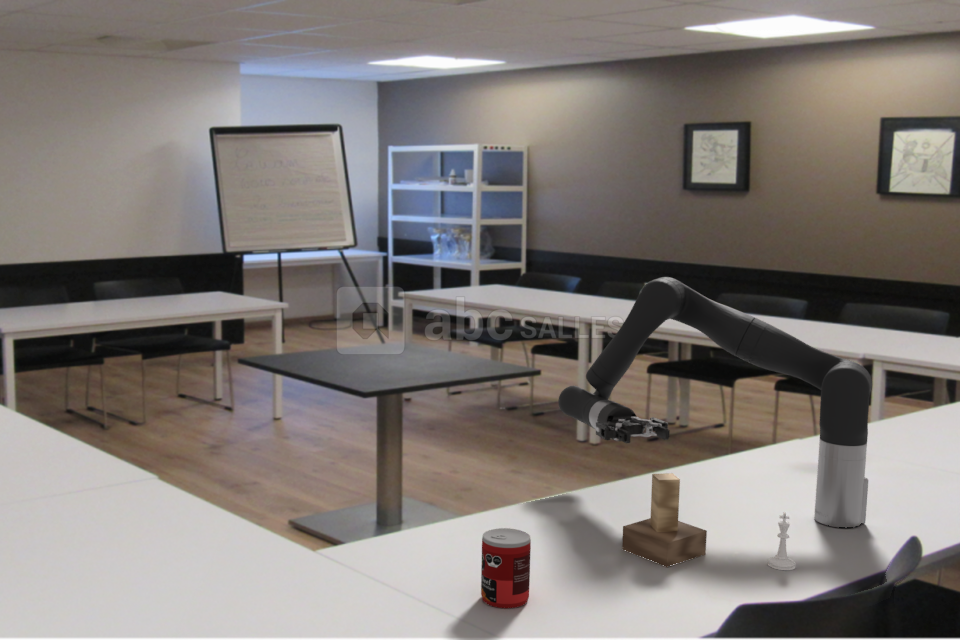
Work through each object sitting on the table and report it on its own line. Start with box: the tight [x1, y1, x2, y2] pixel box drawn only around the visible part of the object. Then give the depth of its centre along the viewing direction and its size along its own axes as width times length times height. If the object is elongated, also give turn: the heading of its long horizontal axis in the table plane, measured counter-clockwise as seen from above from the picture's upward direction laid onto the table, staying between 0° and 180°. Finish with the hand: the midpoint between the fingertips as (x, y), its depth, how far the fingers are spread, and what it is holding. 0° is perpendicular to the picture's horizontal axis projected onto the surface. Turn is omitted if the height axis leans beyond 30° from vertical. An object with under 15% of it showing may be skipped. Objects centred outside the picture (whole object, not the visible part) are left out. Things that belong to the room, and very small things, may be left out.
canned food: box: [480, 527, 532, 609], centre depth 163 cm, size 8×8×11 cm
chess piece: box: [767, 511, 796, 571], centre depth 181 cm, size 5×5×10 cm
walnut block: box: [621, 517, 708, 568], centre depth 187 cm, size 11×11×5 cm
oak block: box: [650, 472, 681, 532], centre depth 186 cm, size 4×4×10 cm
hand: (648, 436), depth 198 cm, fingers open, 8 cm apart
